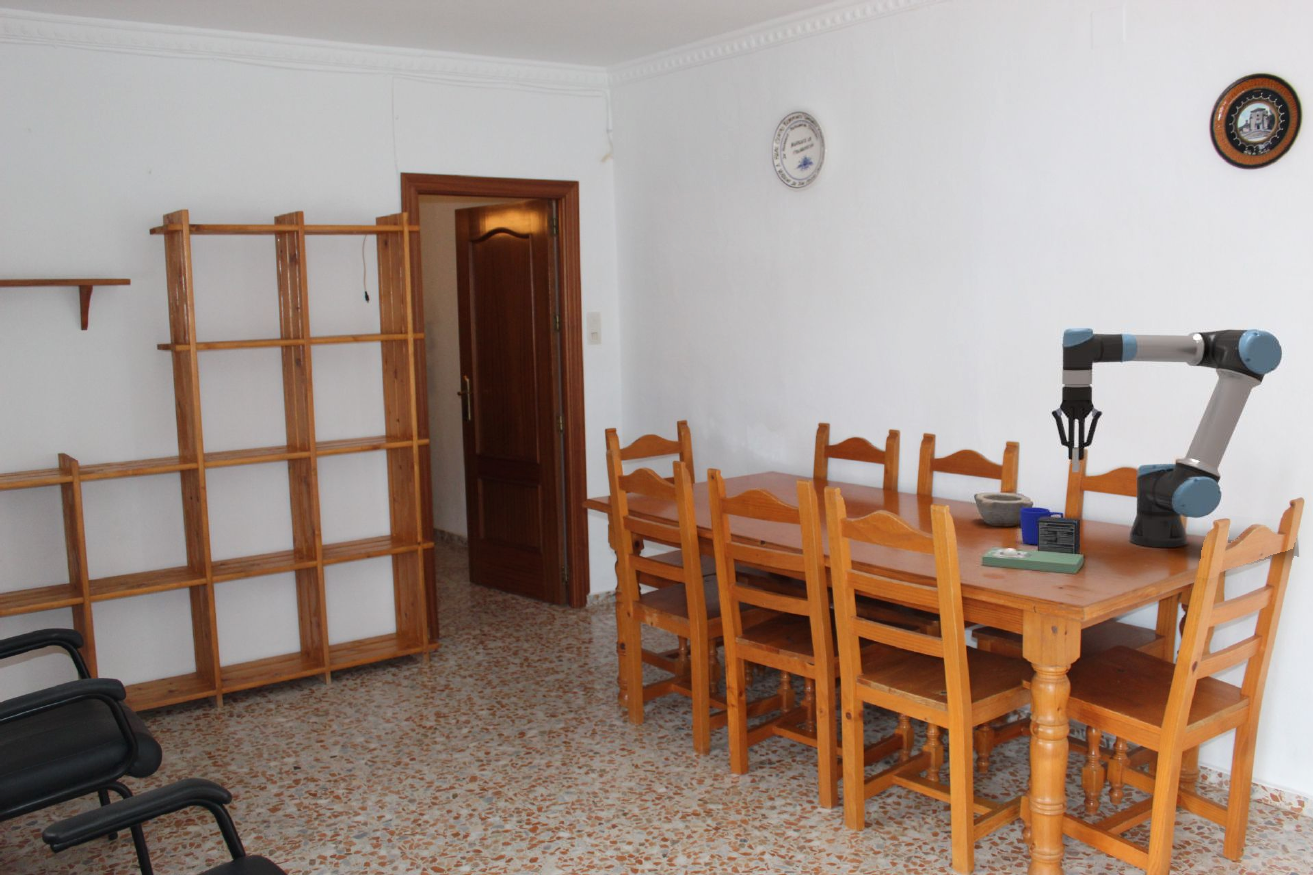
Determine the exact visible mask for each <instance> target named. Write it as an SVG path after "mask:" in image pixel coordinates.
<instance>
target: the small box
mask: <svg viewBox="0 0 1313 875" xmlns="http://www.w3.org/2000/svg"><path fill="white" fill-rule="evenodd" d="M1037 551H1044V552H1056V553H1068V554H1080V555H1081V552H1080V551H1081V519H1080V518H1075V517H1074V518H1073V517H1063V518H1061V517H1055V516H1054V517H1053V516H1051V517H1041V518H1039V519H1038V545H1037Z"/></svg>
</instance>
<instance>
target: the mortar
mask: <svg viewBox="0 0 1313 875" xmlns="http://www.w3.org/2000/svg"><path fill="white" fill-rule="evenodd" d="M973 497H974V498H973V499H974V501H975V504H976V508H977V511H978V512H979V514H980V517H981V518H982V520H983V521H984V522H985V524H987V525H988V526H993V527H1007V528H1008V527H1015V526H1017V525H1019V524H1021V515H1020V509H1022V508H1028V507H1034V502H1033V500H1031V498H1030V497H1028V496H1026V495H1024V493H1023V494H1022V493H1018V492H1017V493H1016V492H1015V493H1014V492H1012V493H1011V492H977V493H974V494H973Z"/></svg>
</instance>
